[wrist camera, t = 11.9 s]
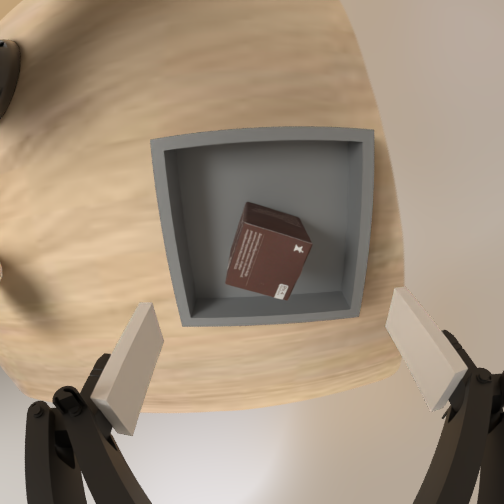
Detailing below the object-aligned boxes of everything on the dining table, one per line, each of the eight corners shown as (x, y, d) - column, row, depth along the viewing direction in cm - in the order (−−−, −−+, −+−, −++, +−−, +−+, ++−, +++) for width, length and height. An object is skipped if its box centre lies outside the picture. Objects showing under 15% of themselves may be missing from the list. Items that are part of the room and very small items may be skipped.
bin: (165, 138, 26) (150, 139, 22) (356, 130, 25) (374, 129, 21) (190, 303, 34) (182, 326, 30) (347, 295, 33) (358, 316, 29)
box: (246, 199, 28) (243, 220, 21) (301, 217, 29) (315, 242, 22) (229, 251, 30) (222, 285, 24) (281, 266, 31) (288, 303, 24)
